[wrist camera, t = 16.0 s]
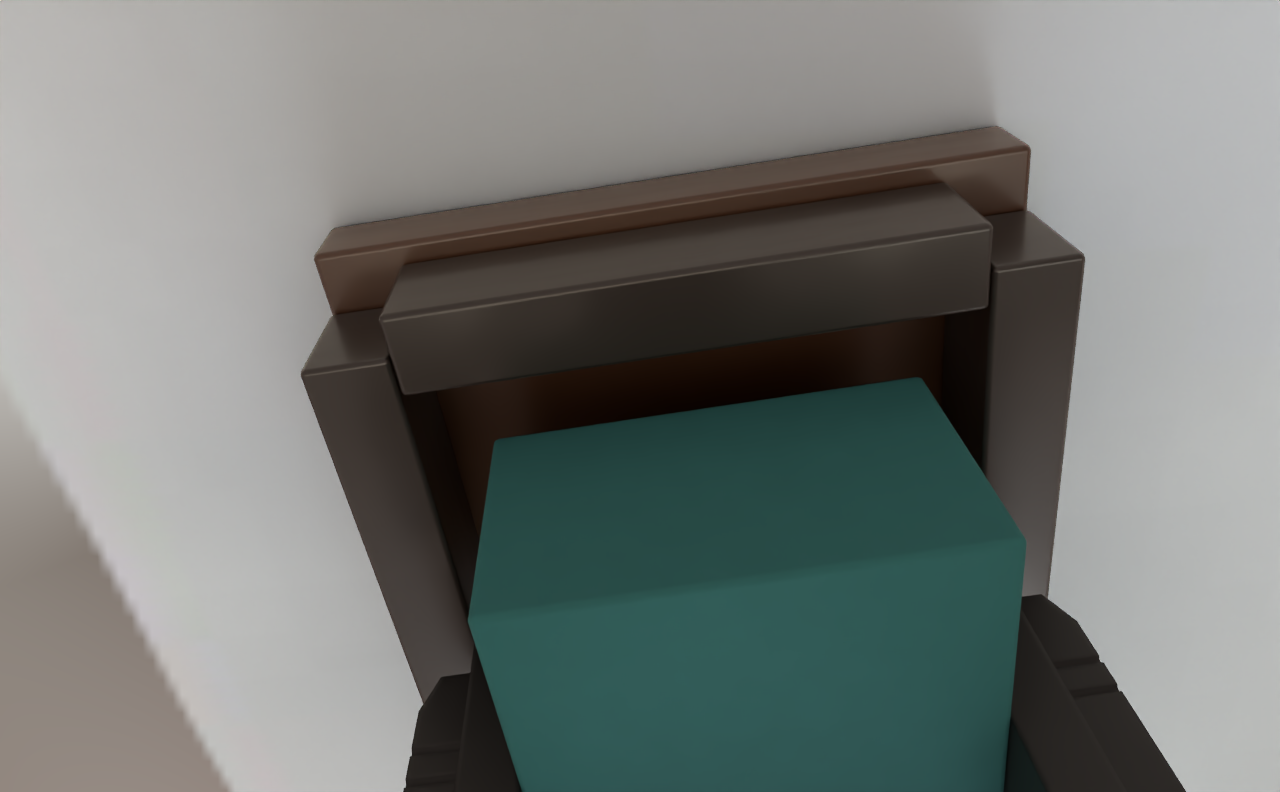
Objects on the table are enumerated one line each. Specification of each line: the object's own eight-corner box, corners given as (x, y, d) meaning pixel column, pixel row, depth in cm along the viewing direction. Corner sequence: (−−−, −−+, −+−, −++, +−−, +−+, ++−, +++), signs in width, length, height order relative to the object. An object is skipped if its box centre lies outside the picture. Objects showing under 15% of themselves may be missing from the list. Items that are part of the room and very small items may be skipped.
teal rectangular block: (493, 437, 11) (464, 620, 8) (921, 372, 11) (1031, 539, 8) (591, 813, 14) (594, 1024, 12) (914, 768, 14) (989, 972, 12)
